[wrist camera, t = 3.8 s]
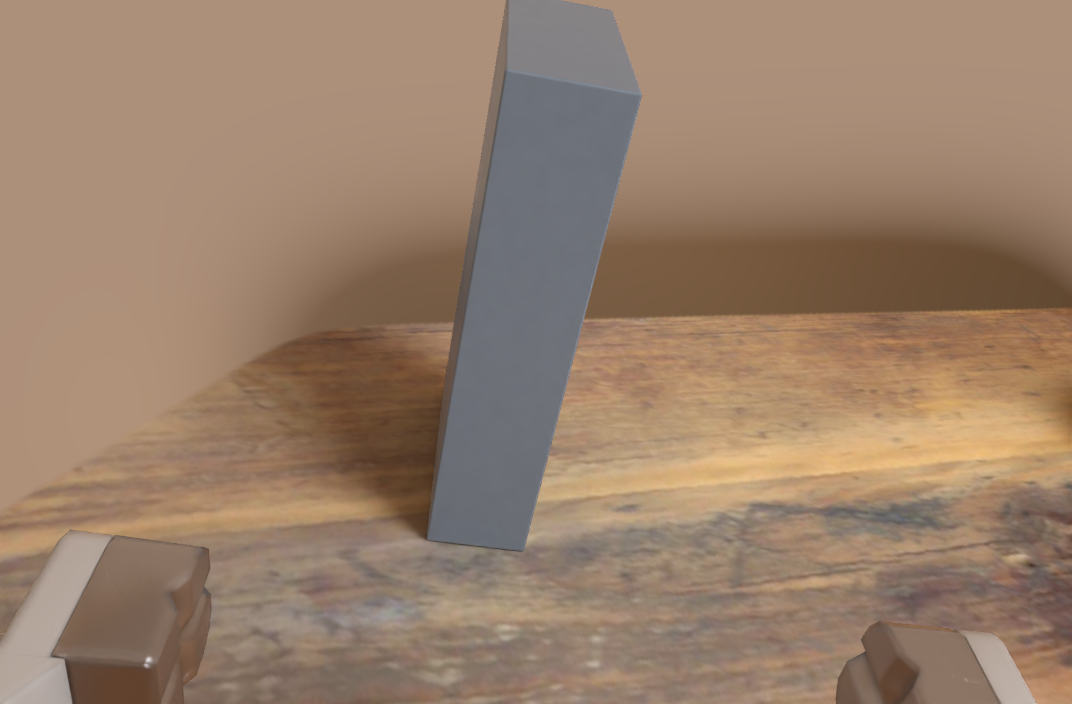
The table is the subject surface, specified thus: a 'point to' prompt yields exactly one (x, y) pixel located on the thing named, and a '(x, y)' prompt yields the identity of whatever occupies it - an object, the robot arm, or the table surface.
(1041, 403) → the table surface
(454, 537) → the grey rectangular block
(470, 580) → the table surface
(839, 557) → the table surface
